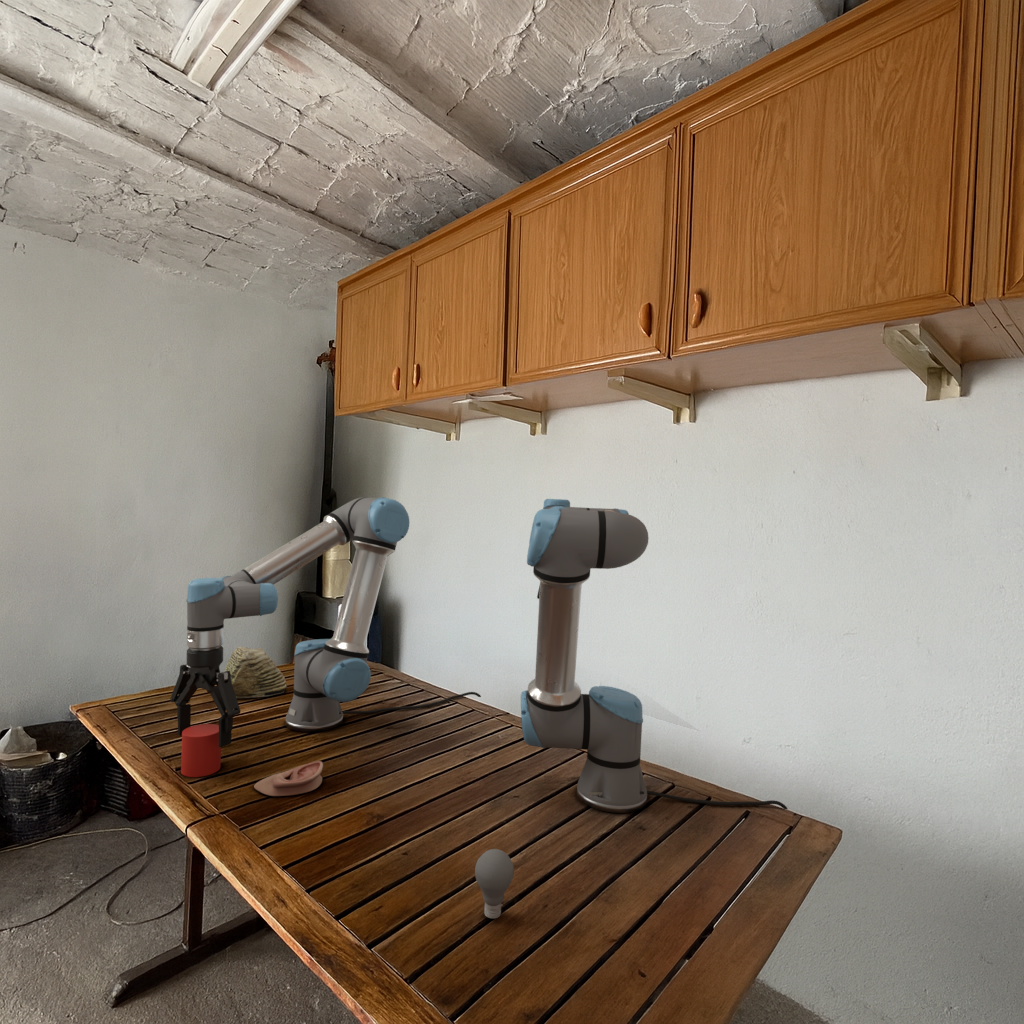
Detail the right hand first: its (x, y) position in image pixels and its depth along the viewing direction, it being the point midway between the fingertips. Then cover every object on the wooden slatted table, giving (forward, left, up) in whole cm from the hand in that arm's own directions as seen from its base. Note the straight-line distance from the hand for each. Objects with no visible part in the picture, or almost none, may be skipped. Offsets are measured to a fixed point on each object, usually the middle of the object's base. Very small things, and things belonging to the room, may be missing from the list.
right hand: (551, 630), depth 177 cm
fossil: (+82, -44, -29) cm, 97 cm away
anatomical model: (+67, +22, -29) cm, 76 cm away
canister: (+87, +10, -29) cm, 92 cm away
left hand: (+86, +10, -22) cm, 90 cm away
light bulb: (+33, +74, -29) cm, 86 cm away
